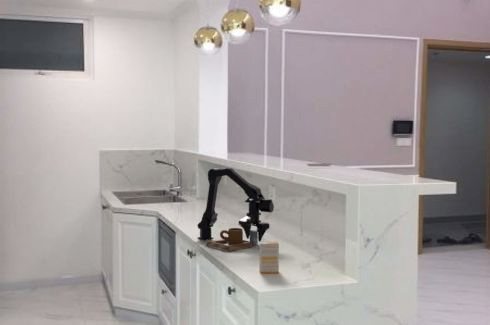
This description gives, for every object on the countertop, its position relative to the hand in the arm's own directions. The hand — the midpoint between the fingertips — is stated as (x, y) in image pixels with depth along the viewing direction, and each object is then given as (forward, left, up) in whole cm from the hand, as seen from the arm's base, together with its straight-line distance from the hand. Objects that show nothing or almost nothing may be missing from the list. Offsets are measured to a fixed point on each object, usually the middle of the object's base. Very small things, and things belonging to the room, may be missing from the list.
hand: (253, 240), depth 299 cm
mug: (-2, -14, -2) cm, 14 cm away
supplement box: (+45, -32, -2) cm, 56 cm away
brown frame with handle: (-4, -10, -2) cm, 11 cm away
